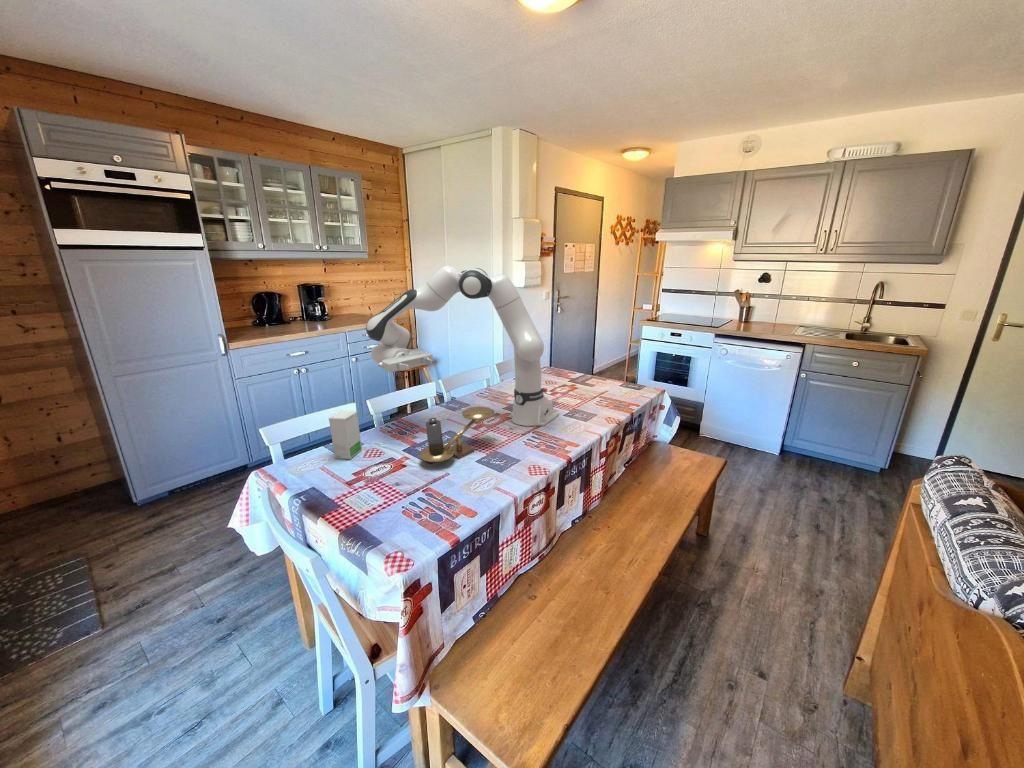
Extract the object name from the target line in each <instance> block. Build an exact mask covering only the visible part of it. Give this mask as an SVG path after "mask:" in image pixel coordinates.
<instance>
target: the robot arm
mask: <svg viewBox="0 0 1024 768" xmlns="http://www.w3.org/2000/svg"><path fill="white" fill-rule="evenodd" d="M458 293H461V294H462V295H463V296H464V297H466V298H467V299H470V300H474V299H475V300H477V299H481V298H482V299H483V298H487V297H488V298H489V300H490V301H491V303H492V306H493V307H494V309H495V311H496V313H497V315H498V317H499V319H500V322H501V323H502V325H503V328H504V329H505V331H506V333H507V334H508V337H509V339H510V341H511V343H512V346H513V353H514V354H513V355H514V356H513V357H514V358H513V359H514V380H515V381H514V386H515V387H514V390H513V397H514V398H513V403H512V404H513V405H512V412H511V413H510V414H511V422H512V423H514V424H516V425H519V426H525V427H532V426H539V427H541V426H543V427H544V426H546V425H547V424H549V423H550V422H552V421H553V420H554V419H555V418H557V417H558V416H559V415H560V414H559V412H558V411H557V410H555V409H554V403H553V402H552V401H551V400H550V399H549V398H547V397H546V396H545V395H544V393H545V394H547V392H548V388H547V387H542V366H541V358H542V356H543V354H544V350H545V347H544V346H545V345H544V341H543V339H542V337H541V336H540V334H539V331H538V328H536V326H535V324H534V321H533V320H532V318H531V315H530V314H529V311H528V310H527V308H526V305H525V304H524V302H523V300H522V298H521V295H520V294H519V291H518V289H517V288H516V286H515V284H514V283H513V282H512V280H511V279H510V278H509V276H507V275H506V274H496V275H494V276H489V275H488V274H487V272H486V271H485V270H483V269H482V268H479V267H473V268H469V269H465V270H462V271H461V272H460V271H459V270H458V269H456V268H455V267H453V266H451V265H445V266H443V267H441V268H439V269H438V270H437V271H436V272H435V273H434V274H433V275H432V276H431V277H430V278H429V279H427V281H426V282H425V283H424V284H422V285H421V286H419V287H417V288H413V289H411V288H410V289H408V290H406V291H404V292H403V293H402V294H401V295H399V296H398V297H397V298H396V299H395V300H393V301H392V302H391V303H390V304H388V305H387V306H386V307H385V308H383V309H382V310H381V311H380V312H378V313H377V314H374V315H373V316H371V317H370V318H369V319H368V321H367V323H366V324H365V331H366V334H367V336H368V338H369V339H371V340H373V341H376V342H379V344H377V345H375V346H373V347H372V349H371V352H370V353H371V354H370V355H371V358H372V360H373V362H375V363H376V364H377V367H380V368H382V370H383V371H384V372H387V373H395V372H398V371H399V372H402V371H403V372H404V371H409V370H411V369H412V368H417V367H421V366H423V365H427V366H429V365H432V364H433V362H434V356H433V353H432V352H429V351H425V350H421V349H419V348H416V347H415V348H414V347H413V348H410V345H411V341H412V338H411V337H412V336H411V332H410V330H409V329H408V328H405V327H403V326H402V325H400V324H397V323H396V322H394V320H396V318H398V317H399V316H401V314H403V313H404V312H405V311H408V310H421V311H427V312H436V311H439V310H441V309H443V307H444V306H446V304H447V303H448V302H449V301H450V300H451V299H452V298H453V297H454V295H456V294H458Z"/></svg>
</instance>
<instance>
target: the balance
mask: <svg viewBox="0 0 1024 768" xmlns="http://www.w3.org/2000/svg"><path fill="white" fill-rule="evenodd" d="M461 414H462V417H463V418H465V419H467V420H469V422H468V423H467V424H466V425H465V426H464V427H463V428H462V429H461V430H460V431H459V432H456V433H455V436H453V438H452V439H451V440H450V441H449V442H447V443H446V444H443V447H444V452H443V453H442V454H440V455H437V456H433V455H430V453H429V446H426V447H424V448H422V449H421V450H420V451H419V453H418V457H419V459H420V460H422V461H424V462H427V463H440V462H444V461H447V460H450V459H451V458H452V457H453V458H455V459H457V460H459V459H462V458H464V457H466V456H468V455H470V453H471V454H472V452H473V453H475V452H474V451H476V449H475V448H474V447H472V446H470V445H468V444H466V443H464V442H463V441H462V436H463V435H464V434H465V433H466V432H467V431H468V430H469V428H471V427H472V426H473V425H474V424H475V423H476V422H478V421H481V420H482V421H483V420H488V419H491V418H492V417H493V416H494V415H495V410H494V409H492V408H491V407H486V406H473V407H468V408H466V409H464V410H463V411H462V412H461ZM454 443H455V444H454Z"/></svg>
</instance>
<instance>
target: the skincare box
mask: <svg viewBox="0 0 1024 768" xmlns="http://www.w3.org/2000/svg"><path fill="white" fill-rule="evenodd" d="M328 422H329V429H330V434H331V441H332V447H333V455H334V459H339V460H351V459H353V458H352V457H355V456H356V455H358V454H359V453H360V452H362V451H361V450H363V448H362V441H361V433H360V423H359V418H358V411H356V410H341V411H339V412H337V413H334V414H333V415H331V416H330V417H328ZM357 453H358V454H357Z"/></svg>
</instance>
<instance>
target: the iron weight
mask: <svg viewBox="0 0 1024 768" xmlns="http://www.w3.org/2000/svg"><path fill="white" fill-rule="evenodd" d="M425 429H426V437H427V445H428V446H427V447H429V453H430V455H433V456H437V455H440V454H442V453H443V452H444V447H443V445H444V441H443V440H444V439H443V431H442V423H441V421H440V420H438V419H437V417H431V418H429V419H428V421H427V422H425Z"/></svg>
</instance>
